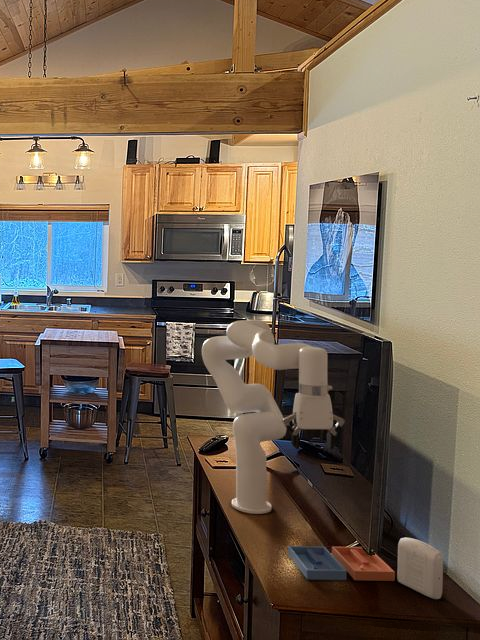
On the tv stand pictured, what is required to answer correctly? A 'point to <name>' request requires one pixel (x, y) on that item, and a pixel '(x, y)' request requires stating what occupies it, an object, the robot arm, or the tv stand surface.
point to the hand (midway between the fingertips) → (313, 447)
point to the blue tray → (308, 568)
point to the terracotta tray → (355, 570)
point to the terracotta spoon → (361, 561)
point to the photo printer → (420, 567)
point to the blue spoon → (316, 560)
